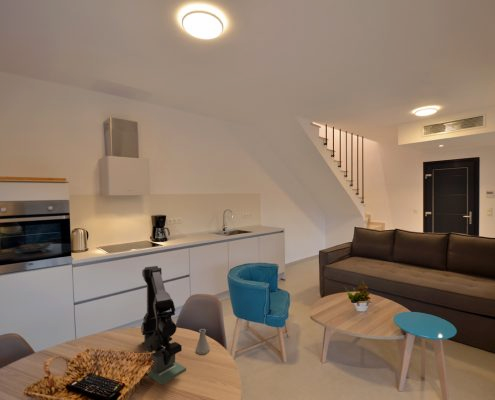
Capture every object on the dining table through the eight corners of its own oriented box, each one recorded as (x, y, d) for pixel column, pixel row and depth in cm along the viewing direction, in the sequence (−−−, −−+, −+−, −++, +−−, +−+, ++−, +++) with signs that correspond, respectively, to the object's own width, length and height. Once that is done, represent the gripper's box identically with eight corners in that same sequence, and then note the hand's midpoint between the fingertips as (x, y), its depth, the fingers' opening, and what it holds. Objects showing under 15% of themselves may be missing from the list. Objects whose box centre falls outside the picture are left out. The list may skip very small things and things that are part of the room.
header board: (140, 369, 119) (140, 356, 119) (164, 357, 128) (164, 345, 128) (161, 384, 109) (161, 370, 109) (186, 370, 118) (186, 357, 118)
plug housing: (151, 368, 116) (151, 354, 116) (168, 358, 123) (168, 345, 123) (156, 372, 114) (157, 357, 114) (174, 362, 121) (174, 348, 121)
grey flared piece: (207, 355, 129) (207, 334, 129) (192, 354, 131) (192, 333, 131) (212, 347, 136) (212, 327, 136) (198, 346, 138) (198, 326, 138)
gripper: (134, 327, 118) (134, 363, 118) (159, 341, 106) (159, 381, 106) (156, 318, 127) (156, 352, 127) (182, 330, 115) (182, 367, 115)
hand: (163, 363), depth 118 cm, fingers closed on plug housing, 4 cm apart
